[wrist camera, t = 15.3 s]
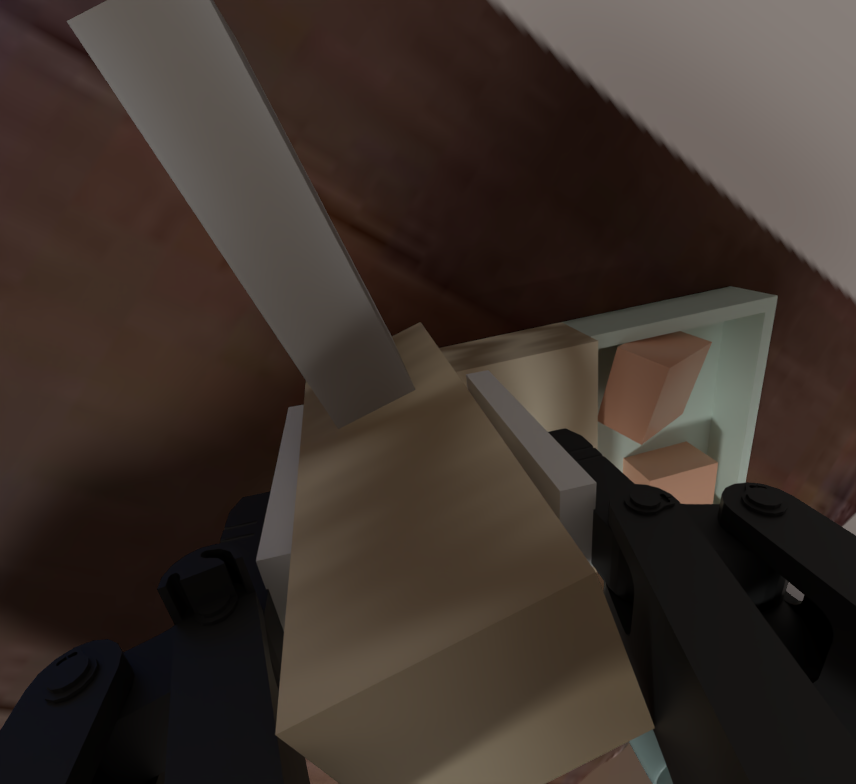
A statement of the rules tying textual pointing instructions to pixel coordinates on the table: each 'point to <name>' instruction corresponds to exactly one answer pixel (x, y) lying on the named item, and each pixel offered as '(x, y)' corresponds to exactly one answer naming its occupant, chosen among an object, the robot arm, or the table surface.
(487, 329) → the table surface
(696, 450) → the tile
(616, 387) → the tile
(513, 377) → the board
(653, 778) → the cup
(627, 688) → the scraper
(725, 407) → the tray
